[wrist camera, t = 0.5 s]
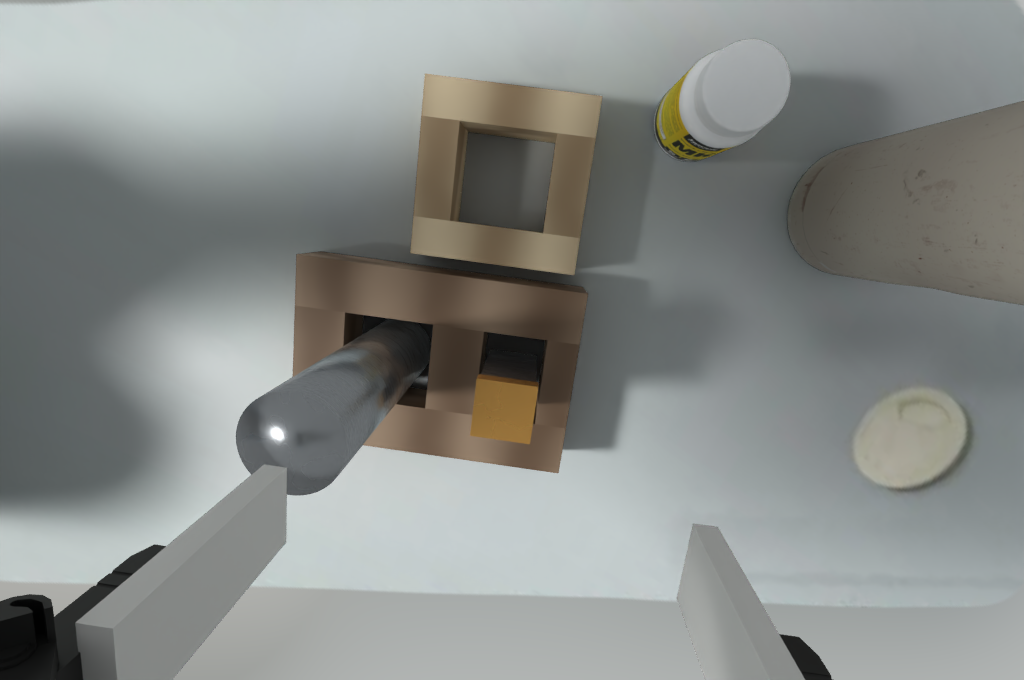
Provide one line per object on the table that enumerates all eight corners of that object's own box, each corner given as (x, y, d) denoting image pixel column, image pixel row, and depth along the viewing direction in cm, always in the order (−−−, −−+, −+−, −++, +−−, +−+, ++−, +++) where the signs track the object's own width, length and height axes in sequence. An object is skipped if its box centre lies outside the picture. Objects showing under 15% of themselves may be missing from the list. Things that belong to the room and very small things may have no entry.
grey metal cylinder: (368, 373, 36) (235, 486, 20) (372, 313, 35) (236, 384, 19) (428, 381, 36) (342, 502, 20) (434, 322, 35) (348, 400, 19)
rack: (423, 250, 34) (410, 253, 30) (437, 90, 31) (424, 73, 28) (570, 270, 33) (574, 275, 30) (595, 110, 31) (602, 96, 28)
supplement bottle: (651, 164, 32) (690, 142, 23) (653, 83, 31) (695, 30, 22) (728, 161, 31) (795, 138, 23) (733, 79, 30) (805, 25, 22)
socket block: (314, 415, 37) (291, 434, 33) (320, 251, 34) (296, 254, 30) (556, 450, 36) (558, 473, 33) (583, 287, 34) (588, 293, 30)
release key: (483, 393, 33) (469, 435, 26) (489, 347, 32) (476, 378, 26) (531, 400, 33) (529, 444, 26) (538, 354, 32) (538, 387, 26)
